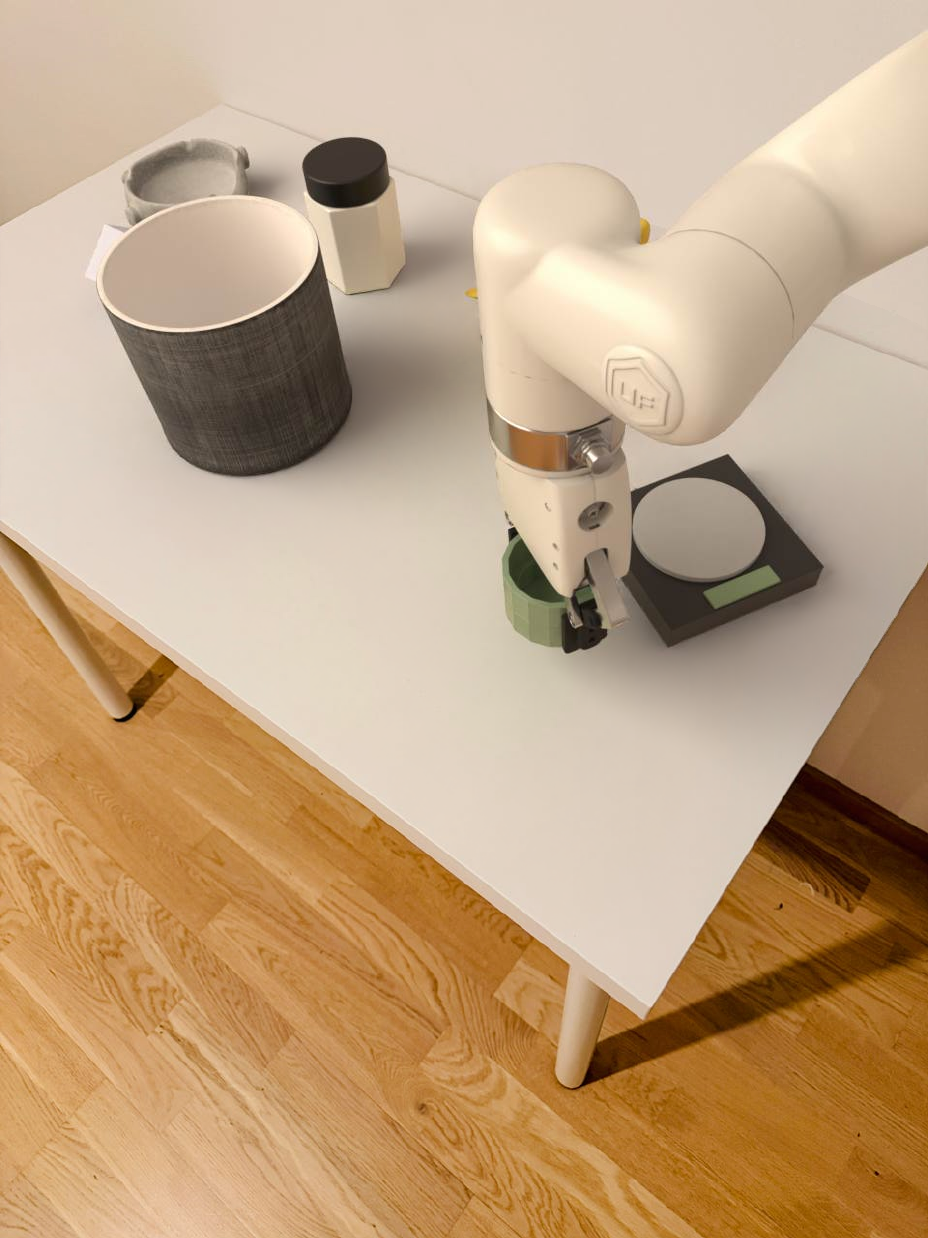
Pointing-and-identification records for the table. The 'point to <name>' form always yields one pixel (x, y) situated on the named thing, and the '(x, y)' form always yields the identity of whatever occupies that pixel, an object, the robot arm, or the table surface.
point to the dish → (183, 176)
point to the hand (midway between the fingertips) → (557, 598)
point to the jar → (354, 213)
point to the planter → (230, 331)
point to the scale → (711, 551)
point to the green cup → (533, 597)
